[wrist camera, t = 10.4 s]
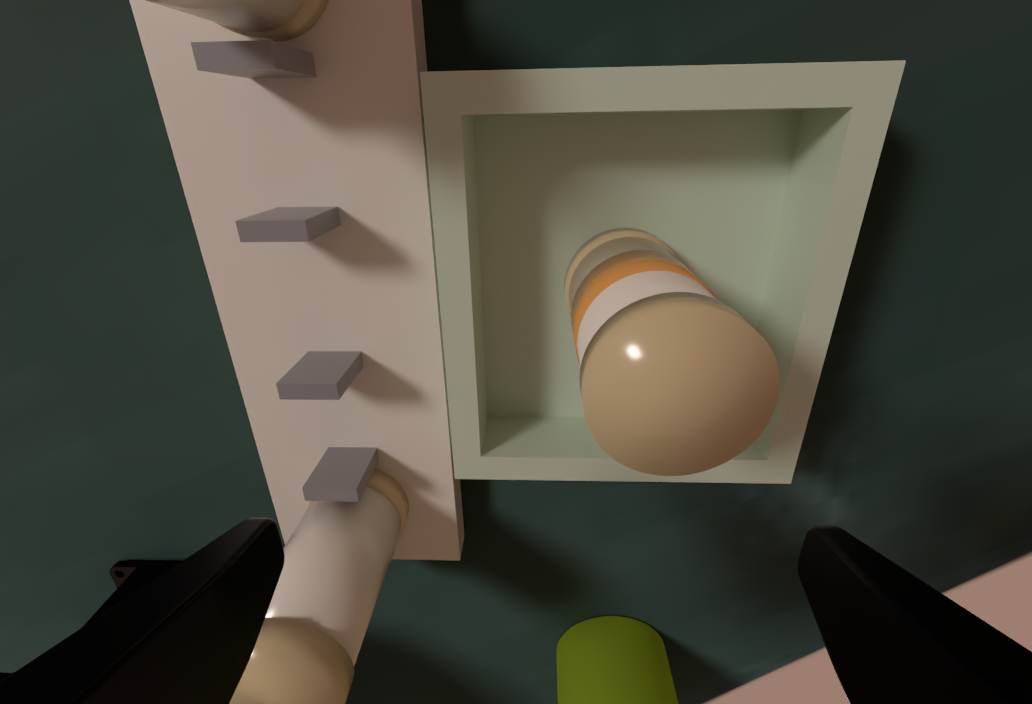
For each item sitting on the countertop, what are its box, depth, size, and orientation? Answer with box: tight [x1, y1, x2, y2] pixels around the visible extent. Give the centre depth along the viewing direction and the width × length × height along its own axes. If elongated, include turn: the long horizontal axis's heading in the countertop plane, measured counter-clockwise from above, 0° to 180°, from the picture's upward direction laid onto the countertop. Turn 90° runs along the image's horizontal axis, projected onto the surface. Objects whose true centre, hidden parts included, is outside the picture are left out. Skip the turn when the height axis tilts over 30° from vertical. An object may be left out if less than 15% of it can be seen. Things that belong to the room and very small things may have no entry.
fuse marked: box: [564, 228, 780, 476], centre depth 14 cm, size 4×4×8 cm
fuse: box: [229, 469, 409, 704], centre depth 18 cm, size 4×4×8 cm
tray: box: [420, 60, 906, 484], centre depth 17 cm, size 13×12×4 cm
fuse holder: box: [130, 0, 465, 601], centre depth 17 cm, size 26×8×4 cm, turn 1°
